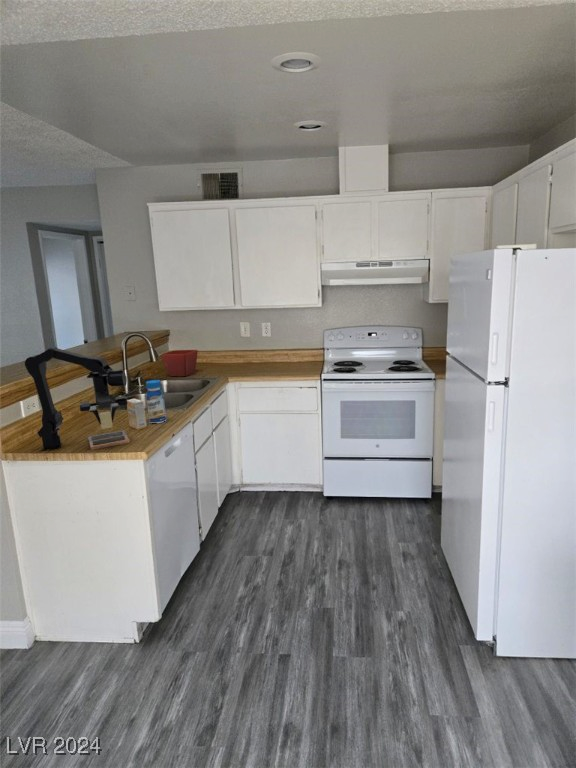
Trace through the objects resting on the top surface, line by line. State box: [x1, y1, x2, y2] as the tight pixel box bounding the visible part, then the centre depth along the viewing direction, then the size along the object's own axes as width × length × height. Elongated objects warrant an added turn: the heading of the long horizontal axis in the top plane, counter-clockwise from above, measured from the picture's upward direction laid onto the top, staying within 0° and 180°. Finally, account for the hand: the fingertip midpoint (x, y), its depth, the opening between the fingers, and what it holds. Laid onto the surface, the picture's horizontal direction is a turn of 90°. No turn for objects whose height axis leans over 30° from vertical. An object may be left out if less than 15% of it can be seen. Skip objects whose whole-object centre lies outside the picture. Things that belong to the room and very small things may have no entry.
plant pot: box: [160, 349, 198, 377], centre depth 358 cm, size 19×19×17 cm
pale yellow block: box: [98, 410, 114, 430], centre depth 213 cm, size 4×4×6 cm
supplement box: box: [126, 398, 147, 431], centre depth 235 cm, size 8×5×13 cm, turn 44°
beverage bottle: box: [145, 379, 167, 424], centre depth 241 cm, size 8×8×20 cm
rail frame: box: [87, 429, 130, 451], centre depth 218 cm, size 15×17×1 cm
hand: (106, 423), depth 213 cm, fingers closed on pale yellow block, 4 cm apart
